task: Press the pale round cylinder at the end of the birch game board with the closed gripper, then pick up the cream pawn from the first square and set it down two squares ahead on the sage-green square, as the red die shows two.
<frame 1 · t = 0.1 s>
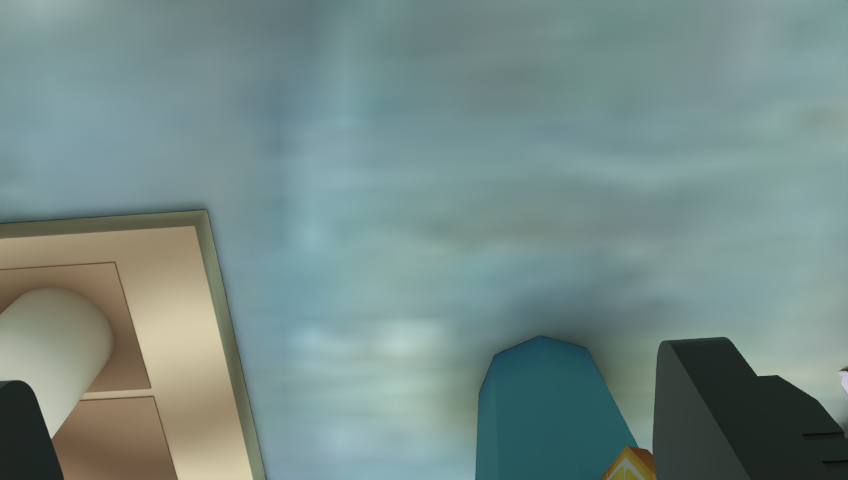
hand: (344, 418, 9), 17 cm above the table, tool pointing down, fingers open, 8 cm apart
cup: (541, 403, 30), on the table
pawn: (61, 333, 27), point 2 cm above the table, touching board
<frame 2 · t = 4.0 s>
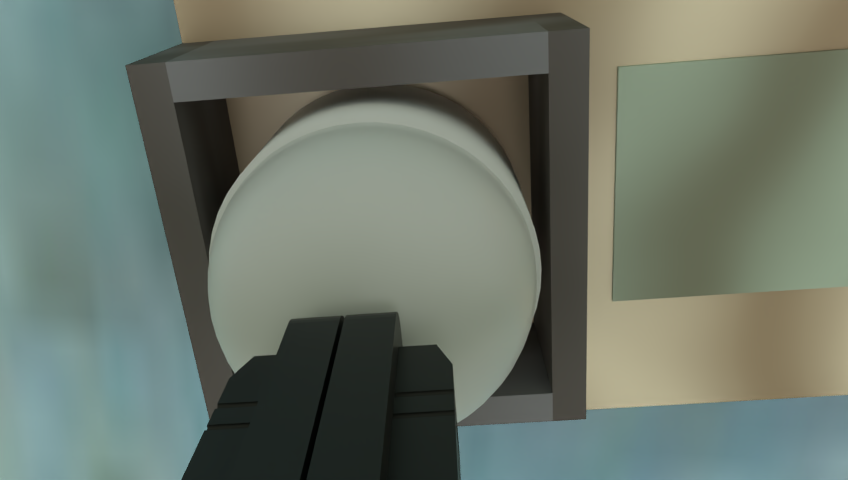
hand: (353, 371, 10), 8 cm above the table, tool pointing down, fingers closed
pale round cylinder: (375, 279, 13), point 5 cm above the table, slide at 0.6 cm, touching gripper
board: (797, 157, 17), on the table
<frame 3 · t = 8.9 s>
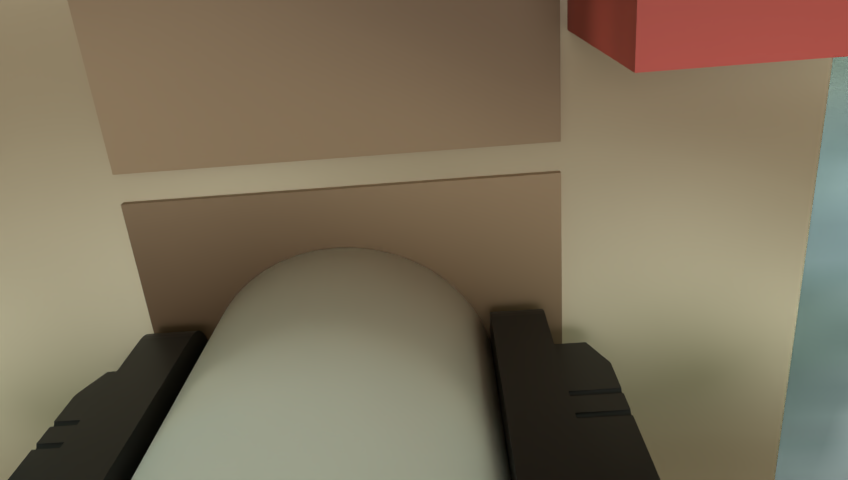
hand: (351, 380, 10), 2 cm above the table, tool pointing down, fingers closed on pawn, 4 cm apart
pawn: (353, 377, 10), point 2 cm above the table, touching gripper
when the fingers open (3 cm above the table, at t = 14.6 s): pawn drops 1 cm, resting on board.
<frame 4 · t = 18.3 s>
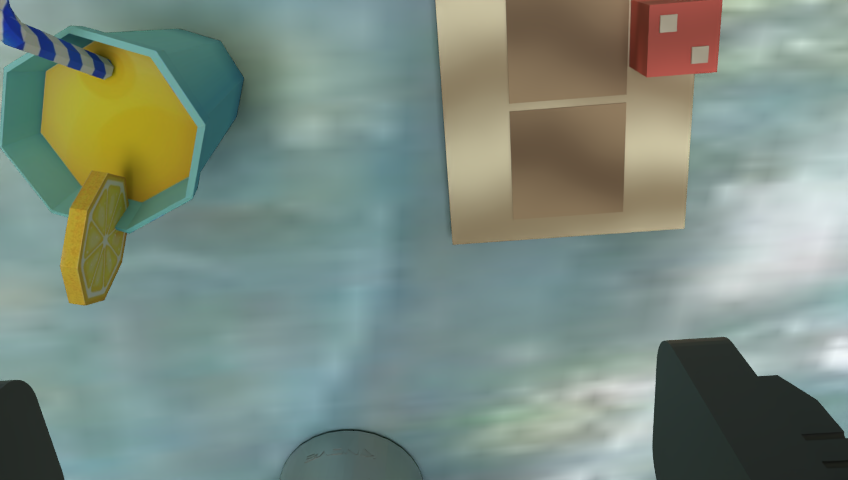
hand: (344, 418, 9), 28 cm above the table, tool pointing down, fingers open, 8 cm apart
cup: (189, 64, 35), on the table
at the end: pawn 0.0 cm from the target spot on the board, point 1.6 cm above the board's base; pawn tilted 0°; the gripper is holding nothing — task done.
